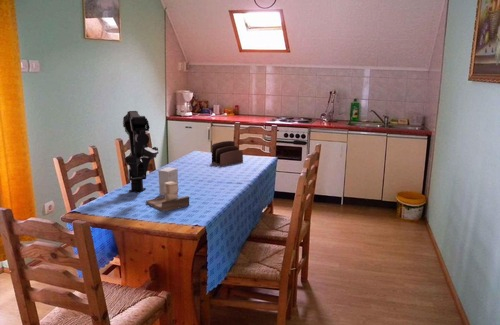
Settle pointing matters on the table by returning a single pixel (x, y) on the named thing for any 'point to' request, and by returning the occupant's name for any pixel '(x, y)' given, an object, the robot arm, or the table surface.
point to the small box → (167, 177)
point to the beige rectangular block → (170, 190)
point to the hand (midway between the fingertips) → (141, 173)
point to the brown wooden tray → (168, 203)
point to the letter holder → (226, 153)
